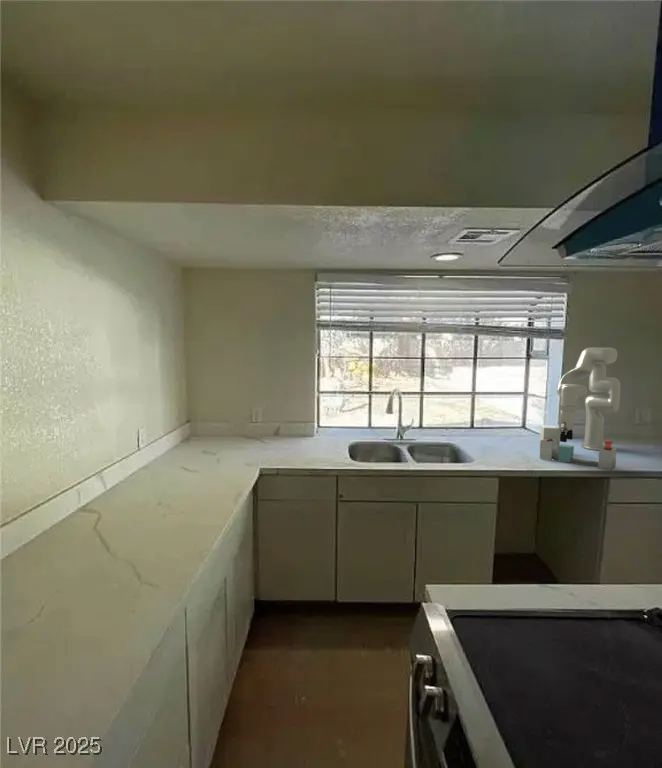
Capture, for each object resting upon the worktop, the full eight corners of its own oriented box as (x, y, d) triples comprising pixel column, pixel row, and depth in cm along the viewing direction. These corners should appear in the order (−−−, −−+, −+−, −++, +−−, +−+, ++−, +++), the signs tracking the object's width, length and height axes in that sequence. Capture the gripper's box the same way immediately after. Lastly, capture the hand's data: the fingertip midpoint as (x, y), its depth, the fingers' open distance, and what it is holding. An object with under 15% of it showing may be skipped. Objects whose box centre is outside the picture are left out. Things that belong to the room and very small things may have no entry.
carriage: (561, 458, 254) (561, 444, 253) (573, 460, 250) (573, 445, 249) (558, 460, 250) (558, 445, 249) (570, 462, 246) (570, 447, 245)
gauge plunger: (604, 448, 239) (604, 439, 238) (613, 449, 236) (613, 440, 235) (602, 449, 236) (602, 440, 235) (611, 450, 233) (612, 441, 232)
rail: (554, 458, 255) (554, 454, 255) (600, 466, 240) (601, 462, 240) (552, 459, 253) (552, 455, 253) (599, 467, 238) (599, 463, 237)
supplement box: (559, 454, 264) (560, 428, 262) (542, 453, 265) (543, 427, 264) (555, 450, 272) (556, 425, 271) (538, 449, 274) (539, 424, 273)
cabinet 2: (602, 465, 242) (603, 446, 241) (615, 467, 238) (616, 448, 237) (598, 468, 236) (599, 449, 235) (611, 470, 232) (612, 451, 231)
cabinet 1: (544, 455, 261) (545, 436, 260) (556, 457, 257) (557, 438, 256) (539, 458, 255) (540, 439, 254) (551, 460, 251) (552, 441, 250)
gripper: (565, 406, 256) (563, 437, 257) (555, 409, 243) (553, 441, 245) (580, 407, 251) (578, 439, 252) (570, 411, 238) (568, 444, 240)
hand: (566, 440), depth 248 cm, fingers open, 9 cm apart
